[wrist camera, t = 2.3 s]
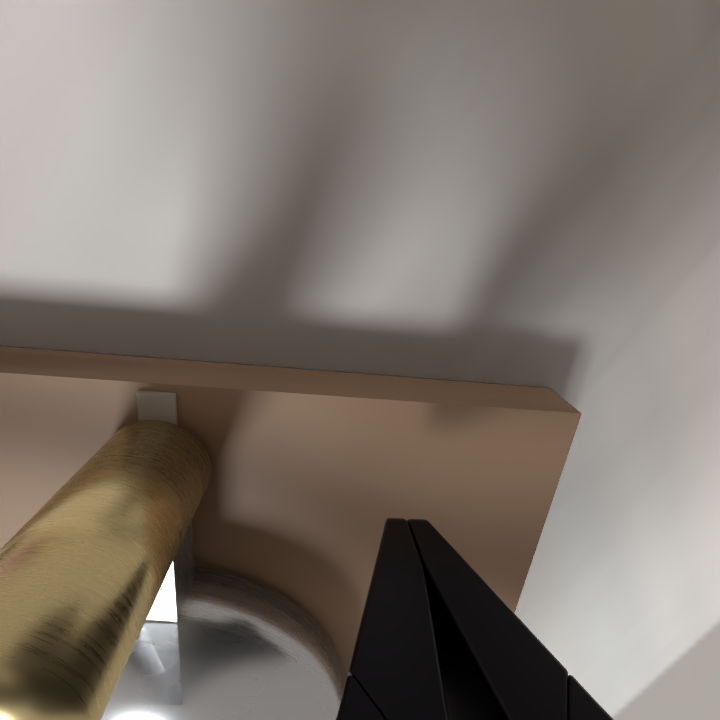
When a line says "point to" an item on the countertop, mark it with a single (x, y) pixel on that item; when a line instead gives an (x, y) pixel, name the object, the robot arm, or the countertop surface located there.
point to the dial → (147, 604)
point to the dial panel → (302, 464)
